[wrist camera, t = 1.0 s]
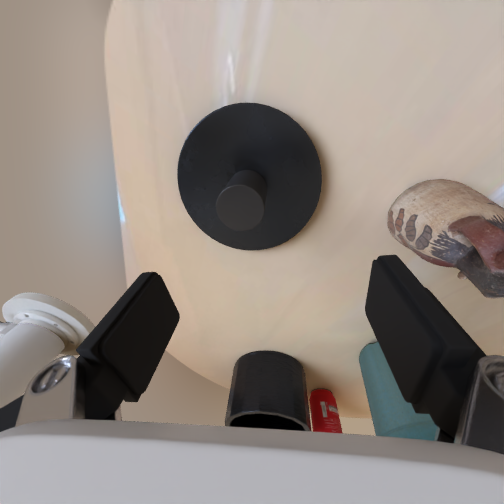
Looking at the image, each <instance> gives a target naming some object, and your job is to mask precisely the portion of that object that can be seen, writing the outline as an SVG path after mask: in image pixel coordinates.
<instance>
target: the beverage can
mask: <svg viewBox="0 0 504 504" xmlns="http://www.w3.org/2000/svg"><path fill="white" fill-rule="evenodd" d="M309 400H310V409H311V418H312V426H313V432H327V433H342V428H341V424H340V419H339V414H338V409H337V404H336V399H335V398H334V396H333V394H332V392H331V391H329V390H327V389H316V390H313V391H312V392H311V396H310V399H309Z"/></svg>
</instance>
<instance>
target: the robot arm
mask: <svg viewBox="0 0 504 504" xmlns="http://www.w3.org/2000/svg"><path fill="white" fill-rule="evenodd" d="M365 312H366V316H367V318H368V320H369V322H370V325H371V327H372V329H373V331H374V334H375V336H376V338H377V340H378V343H379V345H380V347H381V349H382V351H383V354H384V356H385V358H386V360H387V363H388V365H389V367H390V369H391V372H392V374H393V376H394V378H395V381H396V383H397V385H398V387H399V390H400V392H401V394H402V396H403V398H404V400H405V401H406V402H408V403H411V404H412V407H413V409H414V411H415V413H417V414H430V416H431V418H432V420H433V422H434V424H435V425H436V426H437V430H436V433H435V437H434V441H430V440H421V439H409V438H396V437H384V436H371V435H358V434H343V433H327V432H311V431H295V430H279V429H262V428H245V427H228V426H210V425H192V424H174V423H154V422H135V421H122V417H121V407H120V404H121V403H122V401H123V400H125V402H138V400H139V398H140V396H141V394H142V393H144V391H146V389H147V387H148V385H149V383H150V381H151V378H152V376H153V374H154V372H155V370H156V368H157V366H158V364H159V362H160V360H161V358H162V355H163V353H164V351H165V349H166V347H167V345H168V343H169V341H170V339H171V337H172V334H173V332H174V330H175V328H176V326H177V324H178V322H179V318H180V316H179V312H178V310H177V308H176V306H175V304H174V302H173V300H172V298H171V296H170V294H169V292H168V289H167V287H166V285H165V283H164V281H163V279H162V277H161V276H160V275H158V274H157V273H156V272H146V273H142V274H141V275H140V276H139V277H138V278H137V279H136V280H135V282H134V283H133V284H132V285H131V286H130V287H129V289H128V290H127V291H126V292H125V293H124V295H123V296H122V297H121V298H120V299H119V300H118V301H117V303H116V304H115V305H114V306H113V307H112V308H111V310H110V311H109V312H108V313H107V314H106V315H105V317H104V318H103V319H102V320H101V321H100V322H99V324H98V325H97V326H96V327H95V328H94V329H93V331H92V332H91V333H90V334H89V335H88V336H87V338H86V339H85V340H84V341H83V342H82V343H81V345H80V346H79V347H78V348H77V349H76V351H77V352H78V353H79V354H80V356H79V357H78V358H77V359H76V358H75V357H74V356H70V355H67V356H63V357H60V358H58V359H55V358H56V357H57V356H58V355H59V354H60V353H61V352H68V351H71V350H73V349H74V348H75V347H76V346H77V345H78V343H79V337H78V335H77V333H76V332H75V330H74V329H73V328H72V327H71V326H70V325H68V324H67V323H66V322H64V321H63V320H61V319H59V318H58V317H56V316H53V315H51V314H48V313H46V312H42V311H38V310H23V311H21V312H19V313H18V314H17V315H15V316H14V318H13V322H12V323H11V322H6V323H3V322H1V321H0V504H504V356H498V355H491V356H486V355H485V353H484V352H483V351H482V350H481V349H480V348H479V346H478V345H477V344H476V343H475V342H474V341H473V340H472V338H471V337H470V336H469V335H468V334H467V333H466V332H465V330H464V329H463V328H462V327H461V326H460V325H459V324H458V322H457V321H456V320H455V319H454V318H453V317H452V316H451V314H450V313H449V312H448V311H447V310H446V309H445V307H444V306H443V305H442V304H441V303H440V302H439V301H438V299H437V298H436V297H435V296H434V295H433V294H432V293H431V291H429V290H428V289H427V288H425V287H424V286H423V285H422V284H421V283H420V282H419V280H418V279H417V278H416V277H415V276H414V275H413V273H412V272H411V271H410V270H409V269H408V268H407V266H406V265H405V264H404V263H403V262H402V261H401V259H400V258H399V257H398V256H397V255H384V256H379V257H378V258H377V260H374V261H373V263H372V269H371V275H370V281H369V287H368V293H367V299H366V305H365ZM54 359H55V360H54ZM24 392H25V393H24ZM23 393H24V395H22V394H23ZM21 395H22V396H21Z"/></svg>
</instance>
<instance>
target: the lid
mask: <svg viewBox="0 0 504 504" xmlns="http://www.w3.org/2000/svg"><path fill="white" fill-rule="evenodd" d="M321 184H322V175H321V166H320V161H319V158H318V154H317V151H316V149H315V147H314V145H313V143H312V141H311V139H310V138H309V136H308V135H307V133H306V132H305V131H304V130H303V128H302V127H301V126H300V125H299V124H298V123H297V122H296V121H294V120H293V119H292V118H291V117H290V116H288V115H286V114H285V113H283V112H281V111H280V110H277V109H275V108H272V107H270V106H267V105H262V104H258V103H237V104H232V105H228V106H224V107H222V108H220V109H217V110H215V111H213V112H212V113H210V114H209V115H207V116H206V117H204V118H203V119H202V120H201V121H200V122H199V123H198V124H197V125H196V126H195V127H194V128H193V130H192V131H191V132H190V134H189V135H188V137H187V139H186V140H185V143H184V145H183V147H182V150H181V153H180V157H179V162H178V186H179V191H180V195H181V199H182V201H183V204H184V206H185V208H186V210H187V212H188V214H189V215H190V217H191V218H192V220H193V221H194V222H195V223H196V225H197V226H198V227H199V228H200V229H201V230H202V231H203V232H204V233H206V234H207V235H208V236H210V237H211V238H212V239H214V240H216V241H218V242H219V243H222V244H224V245H226V246H229V247H232V248H236V249H241V250H262V249H267V248H272V247H275V246H277V245H280V244H282V243H284V242H286V241H288V240H289V239H291V238H292V237H294V236H295V235H296V234H297V233H298V232H299V231H300V230H301V229H302V228H303V227H304V226H305V225H306V224H307V222H308V221H309V219H310V218H311V216H312V215H313V213H314V211H315V209H316V206H317V203H318V201H319V197H320V192H321Z"/></svg>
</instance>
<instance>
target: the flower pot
mask: <svg viewBox="0 0 504 504" xmlns="http://www.w3.org/2000/svg"><path fill="white" fill-rule="evenodd" d="M359 363H360V367H361V372H362V376H363V380H364V385H365V389H366V393H367V398H368V402H369V407H370V411H371V415H372V420H373V424H374V428H375V433H376V436H384V437H396V438H409V439H421V440H430V441H434V437H435V433H436V430H437V426H436V425H435V424H434V422H433V420H432V418H431V416H430V414H417V413H415V411H414V409H413V407H412V404H411V403H408V402H406V401H405V400H404V398H403V396H402V394H401V392H400V390H399V387H398V385H397V383H396V381H395V378H394V376H393V374H392V372H391V369H390V367H389V365H388V363H387V360H386V358H385V356H384V354H383V351H382V349H381V347H380V345H379V343H378V342H376V343H374V344H370V343H369V344H368V345H367V346H365V347H364V349H363V350H362V351H361V353H360V356H359Z"/></svg>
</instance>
